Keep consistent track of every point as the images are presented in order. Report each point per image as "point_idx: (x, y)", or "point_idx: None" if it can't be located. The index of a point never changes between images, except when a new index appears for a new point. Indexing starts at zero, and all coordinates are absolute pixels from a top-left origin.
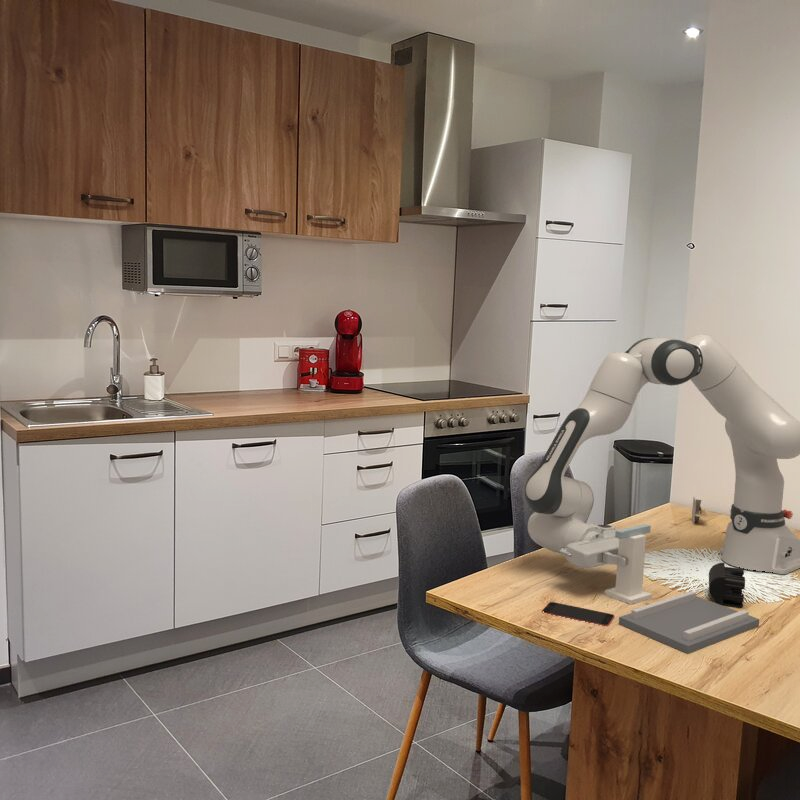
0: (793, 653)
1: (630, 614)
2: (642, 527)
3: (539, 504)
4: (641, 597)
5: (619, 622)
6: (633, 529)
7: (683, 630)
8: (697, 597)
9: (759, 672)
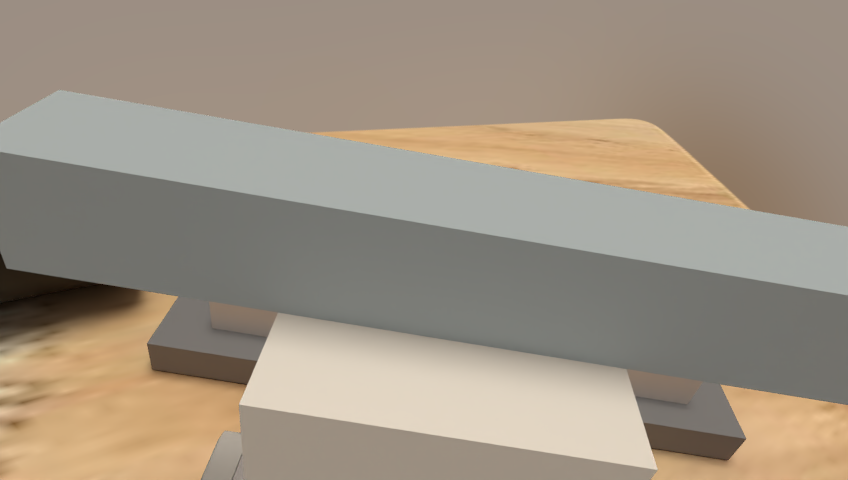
0: (388, 129)
1: (671, 418)
2: (289, 133)
3: None
4: None
5: (731, 451)
6: (545, 177)
7: None
8: (183, 310)
9: (544, 152)
